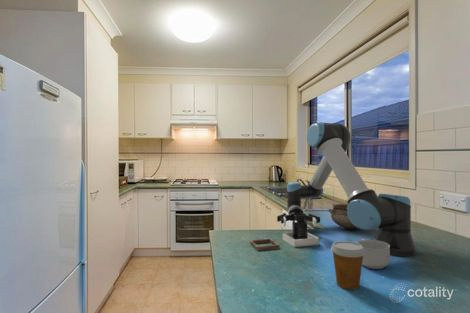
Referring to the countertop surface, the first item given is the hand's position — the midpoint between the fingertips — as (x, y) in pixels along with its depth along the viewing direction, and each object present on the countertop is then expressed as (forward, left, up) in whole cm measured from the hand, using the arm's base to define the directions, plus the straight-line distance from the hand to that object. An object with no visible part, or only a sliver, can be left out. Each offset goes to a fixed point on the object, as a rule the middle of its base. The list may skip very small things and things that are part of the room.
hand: (300, 223), depth 126 cm
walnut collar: (+1, +17, -9) cm, 19 cm away
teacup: (-29, -13, -9) cm, 33 cm away
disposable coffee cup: (-41, +6, -9) cm, 43 cm away
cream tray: (+2, -1, -9) cm, 9 cm away
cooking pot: (+17, -38, -9) cm, 43 cm away
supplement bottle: (+2, -1, -9) cm, 9 cm away
